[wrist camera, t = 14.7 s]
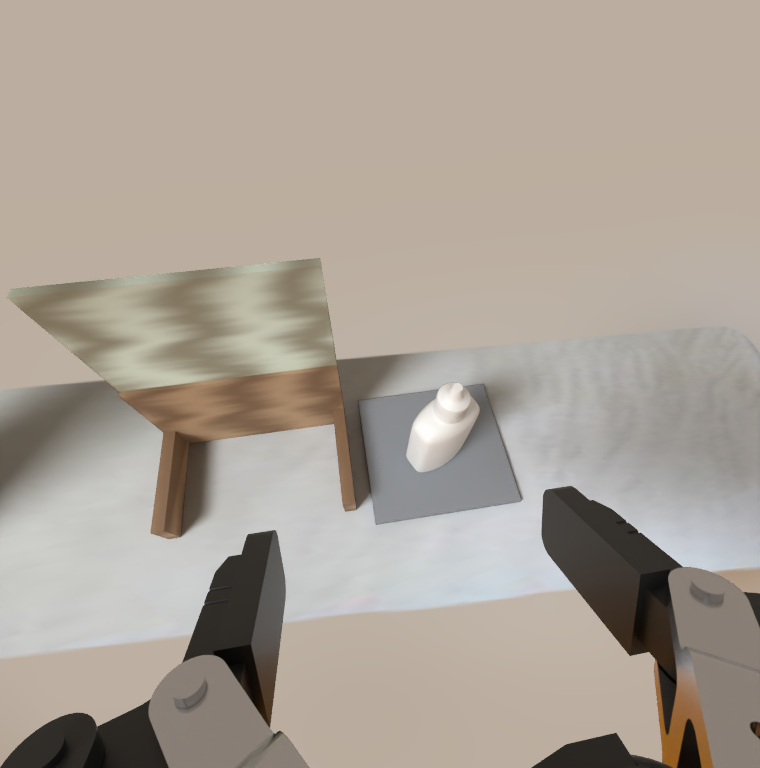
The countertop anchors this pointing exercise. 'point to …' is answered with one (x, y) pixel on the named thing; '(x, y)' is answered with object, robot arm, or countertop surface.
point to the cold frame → (206, 357)
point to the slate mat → (439, 486)
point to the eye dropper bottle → (441, 428)
